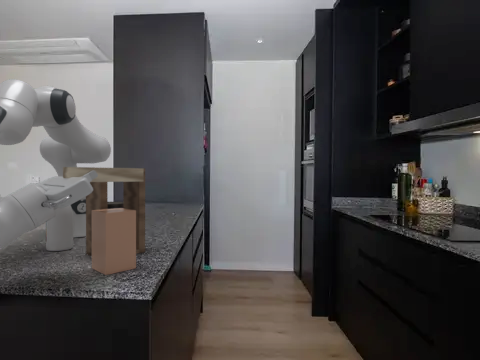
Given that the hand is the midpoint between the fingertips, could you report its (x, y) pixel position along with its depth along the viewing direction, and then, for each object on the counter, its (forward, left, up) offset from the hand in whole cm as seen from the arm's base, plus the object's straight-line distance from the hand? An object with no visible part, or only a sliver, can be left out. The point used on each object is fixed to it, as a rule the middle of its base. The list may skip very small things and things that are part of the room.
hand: (91, 172), depth 82 cm
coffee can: (-31, +20, -25) cm, 44 cm away
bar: (0, +4, -2) cm, 4 cm away
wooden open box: (-15, +14, -25) cm, 32 cm away
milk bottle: (-33, +4, -25) cm, 41 cm away
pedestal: (0, +6, -25) cm, 25 cm away
